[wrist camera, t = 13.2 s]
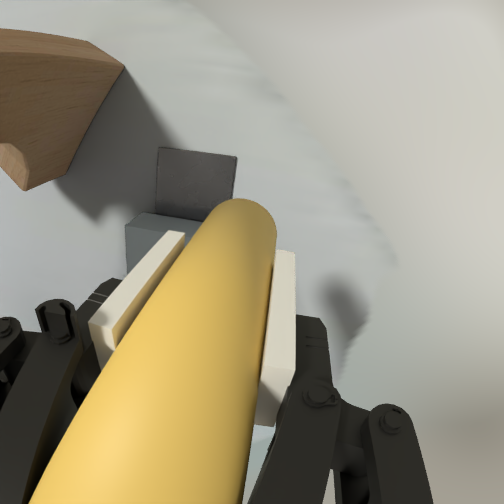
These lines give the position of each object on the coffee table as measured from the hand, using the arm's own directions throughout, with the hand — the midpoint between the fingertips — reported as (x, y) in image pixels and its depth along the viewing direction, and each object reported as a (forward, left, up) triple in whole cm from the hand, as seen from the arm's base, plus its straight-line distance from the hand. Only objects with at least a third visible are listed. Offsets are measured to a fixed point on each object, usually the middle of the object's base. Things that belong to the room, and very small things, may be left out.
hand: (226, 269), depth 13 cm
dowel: (0, 0, -4) cm, 4 cm away
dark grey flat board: (-7, -7, -18) cm, 21 cm away
